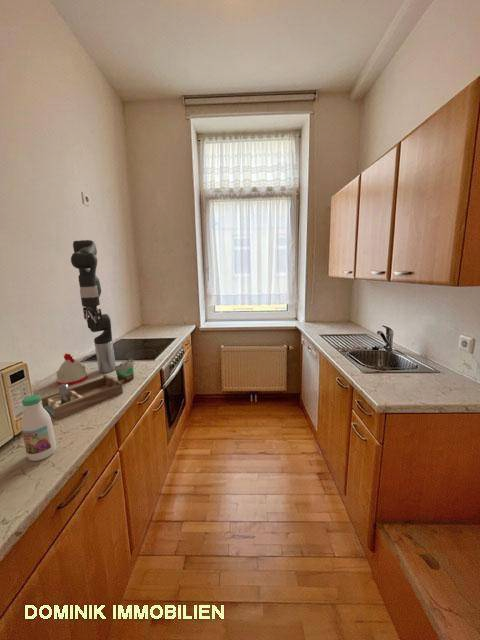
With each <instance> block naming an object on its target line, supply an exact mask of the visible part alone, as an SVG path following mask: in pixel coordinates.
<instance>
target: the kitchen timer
mask: <svg viewBox="0 0 480 640" xmlns="http://www.w3.org/2000/svg"><path fill="white" fill-rule="evenodd" d="M63 358H64V362H63V363H62V364H61V365H60V366H59V368H58V371H56V381H57V386H59V385H61V384H65V383H67V384H68V386H72V385H76V384H79V383H82V382H84V381H85V380H87V379H88V373H87V371H86V367H85V365H83V364H82V363H81V362H80V361H78V360H76V359H75V358H74V357H73V355H72V356H71V353H67V352H66V353H64V355H63Z"/></svg>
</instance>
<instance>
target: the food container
mask: <svg viewBox="0 0 480 640" xmlns="http://www.w3.org/2000/svg"><path fill="white" fill-rule="evenodd" d="M134 365H135V362H134V359H133V358H131V357H129V358H128V357H127V360H126V361H123V362H121V363H120V364H119V365H116V366H115V370H114V371H115V373H116V377H117V380H118V381H120V382H122V384H126V383H129V382H131V381H133V380H134V374H135V371H134Z"/></svg>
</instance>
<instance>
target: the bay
mask: <svg viewBox="0 0 480 640" xmlns="http://www.w3.org/2000/svg"><path fill="white" fill-rule="evenodd" d="M71 390H73V391H75V392H76V393H78V394H79V395H81V396H82V397H84V398H81V399H79V400H76V401H73V402H71V403H68V404H65V405H63V406H60V407H58V408H55V409H54V410H53V409H52V408H51V407H50V406H49V405H48V401H47V399H48V398H51V397H54V396H57V395H59V392H57V393H53V394H50V395H48V396H44V397H41V401H42V402H41V405H42V406H43V408H44V409H45V410H46V411H47V412H48V413H49V415H50V417H52V418H53V419H55V421H58V420H60V419H63V418H64V417H68V416H70V415H72V414H74V413H77V412H80V411H83V410H84V409H87V408H89V407H92V406H94V405H96V404H99V403H103V402H104V401H106V400H109V399H111V398H114V397H117V396H119V395H122V394H123V393H124V391H123V383H122V382H120V381H118V379H115V378H114V377H112V376H109V375H107V374H104V375H103V376H102V377H101V378H97V379H94V380H91V381H89V382H86V383H83V384H79V385H77V386H74V387H71V388H69V391H71Z"/></svg>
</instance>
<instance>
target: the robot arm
mask: <svg viewBox="0 0 480 640" xmlns="http://www.w3.org/2000/svg"><path fill="white" fill-rule="evenodd" d="M72 248H73V253H72V254H71V257H70V264H71V265H72V266H73V267H74V268H75V269H78V272H79V275H78V282H79V283H78V285H79V294H80V300H81V306H82V312H83V319H84V320H86V321H85V322H87V328H88V329H89V331H91V332H92V333H96V332H97V333H98V332H102V333H101V334H99V335H97V336H95V337H94V340H93V342H94V348H95V354H96V361H97V369H98V372H99V373H100V374H101V373H102V374H105V373H106V374H107V373H111V372H114V371H116V370H115V366H117V365H116V358H115V350H114V342H113V334H112V333H113V332H112V322H111V318H110V315H109V314H108V313H103V314H102V309H101V308H98V306H100V304H101V303H100V297H101V294H102V288H101V287H102V286H101V282H100V279H99V278H98V276H97V275H96V273H97V267H98V266H97V265H98V257H97V254H98V251H97V245H96V243H95V242H94V241H93V240H91V239H85V240H83V239H81V240H74V241H73V242H72Z"/></svg>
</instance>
